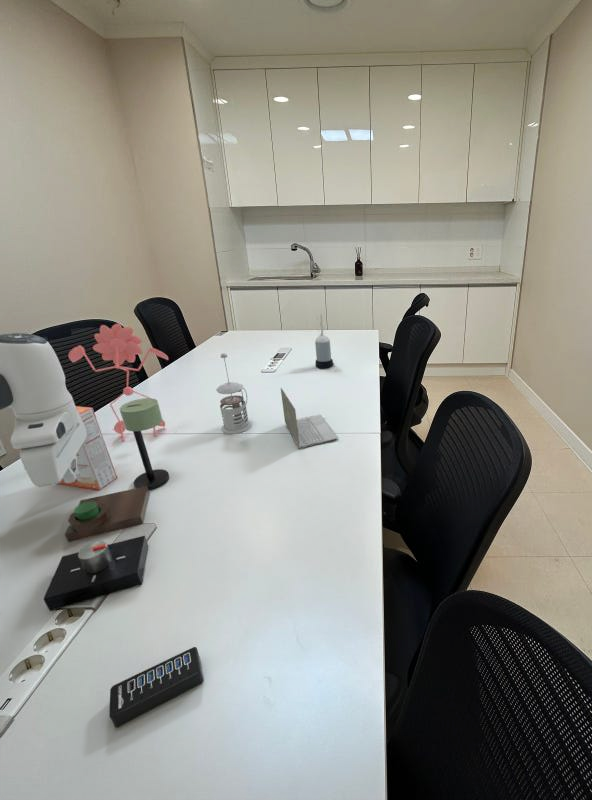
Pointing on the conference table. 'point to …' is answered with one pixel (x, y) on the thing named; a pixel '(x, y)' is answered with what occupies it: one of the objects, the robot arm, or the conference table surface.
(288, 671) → the conference table surface
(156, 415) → the desk lamp
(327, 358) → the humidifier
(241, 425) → the french press
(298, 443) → the laptop
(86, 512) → the lamp switch
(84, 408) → the cracker box
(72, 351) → the figurine
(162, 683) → the multiport hub
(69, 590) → the dimmer panel
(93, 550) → the dimmer knob
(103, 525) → the brown green button box
